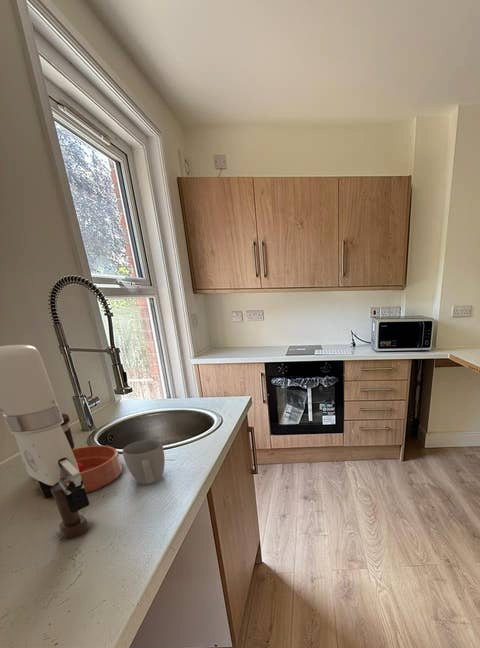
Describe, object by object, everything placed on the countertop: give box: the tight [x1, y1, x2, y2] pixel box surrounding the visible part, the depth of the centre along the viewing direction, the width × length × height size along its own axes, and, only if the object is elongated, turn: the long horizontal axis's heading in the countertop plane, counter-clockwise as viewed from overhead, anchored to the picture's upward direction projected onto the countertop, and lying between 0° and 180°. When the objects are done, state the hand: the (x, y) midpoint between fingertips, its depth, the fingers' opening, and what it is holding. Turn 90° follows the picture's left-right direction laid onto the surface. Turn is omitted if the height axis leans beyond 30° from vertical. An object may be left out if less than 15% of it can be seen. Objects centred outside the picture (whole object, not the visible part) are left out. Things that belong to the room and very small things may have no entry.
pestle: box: [51, 483, 90, 540], centre depth 68 cm, size 4×4×11 cm
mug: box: [122, 439, 166, 486], centre depth 85 cm, size 12×9×10 cm
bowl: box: [36, 444, 123, 494], centre depth 88 cm, size 17×17×6 cm
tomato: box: [77, 462, 84, 472], centre depth 90 cm, size 4×4×4 cm
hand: (67, 501), depth 67 cm, fingers open, 9 cm apart
